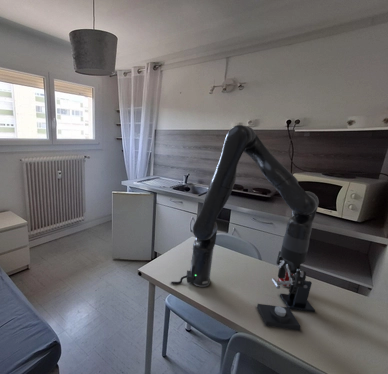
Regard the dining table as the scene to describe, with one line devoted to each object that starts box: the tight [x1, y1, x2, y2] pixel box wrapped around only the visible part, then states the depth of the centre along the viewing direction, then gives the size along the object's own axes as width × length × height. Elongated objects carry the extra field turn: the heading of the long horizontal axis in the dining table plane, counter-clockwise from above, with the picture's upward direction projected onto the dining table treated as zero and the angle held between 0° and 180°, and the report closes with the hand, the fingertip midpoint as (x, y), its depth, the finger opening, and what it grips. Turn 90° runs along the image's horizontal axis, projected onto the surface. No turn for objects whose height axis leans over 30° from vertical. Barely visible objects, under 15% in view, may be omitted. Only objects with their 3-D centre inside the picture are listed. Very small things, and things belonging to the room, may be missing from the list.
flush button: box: [275, 305, 286, 317], centre depth 86 cm, size 4×4×2 cm
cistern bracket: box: [279, 274, 316, 313], centre depth 94 cm, size 10×8×13 cm
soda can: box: [277, 270, 294, 288], centre depth 106 cm, size 5×5×12 cm
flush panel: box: [256, 303, 302, 331], centre depth 87 cm, size 12×9×4 cm
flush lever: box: [271, 277, 307, 290], centre depth 94 cm, size 12×5×2 cm, turn 81°
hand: (286, 285), depth 83 cm, fingers open, 8 cm apart
